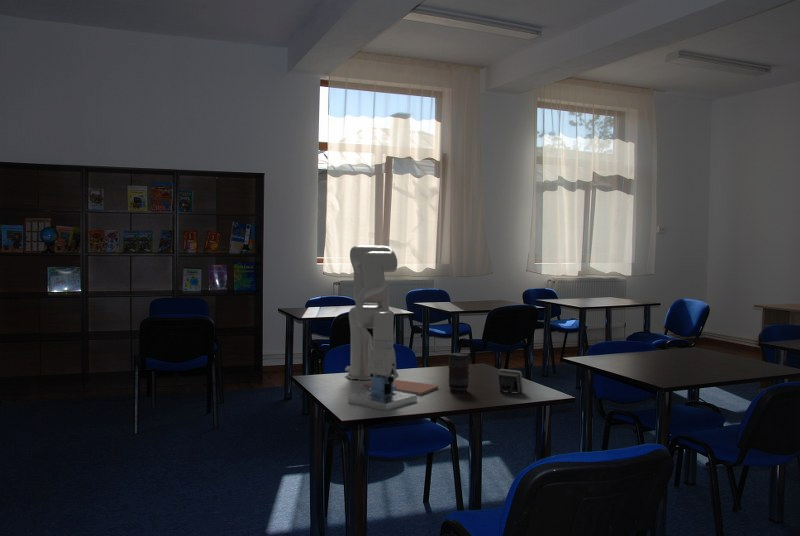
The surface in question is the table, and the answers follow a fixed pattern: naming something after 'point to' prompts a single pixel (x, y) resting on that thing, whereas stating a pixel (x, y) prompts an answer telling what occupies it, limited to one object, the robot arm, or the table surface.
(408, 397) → the plate
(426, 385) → the notebook
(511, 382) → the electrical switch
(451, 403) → the table surface
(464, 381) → the camera lens
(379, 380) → the servo
